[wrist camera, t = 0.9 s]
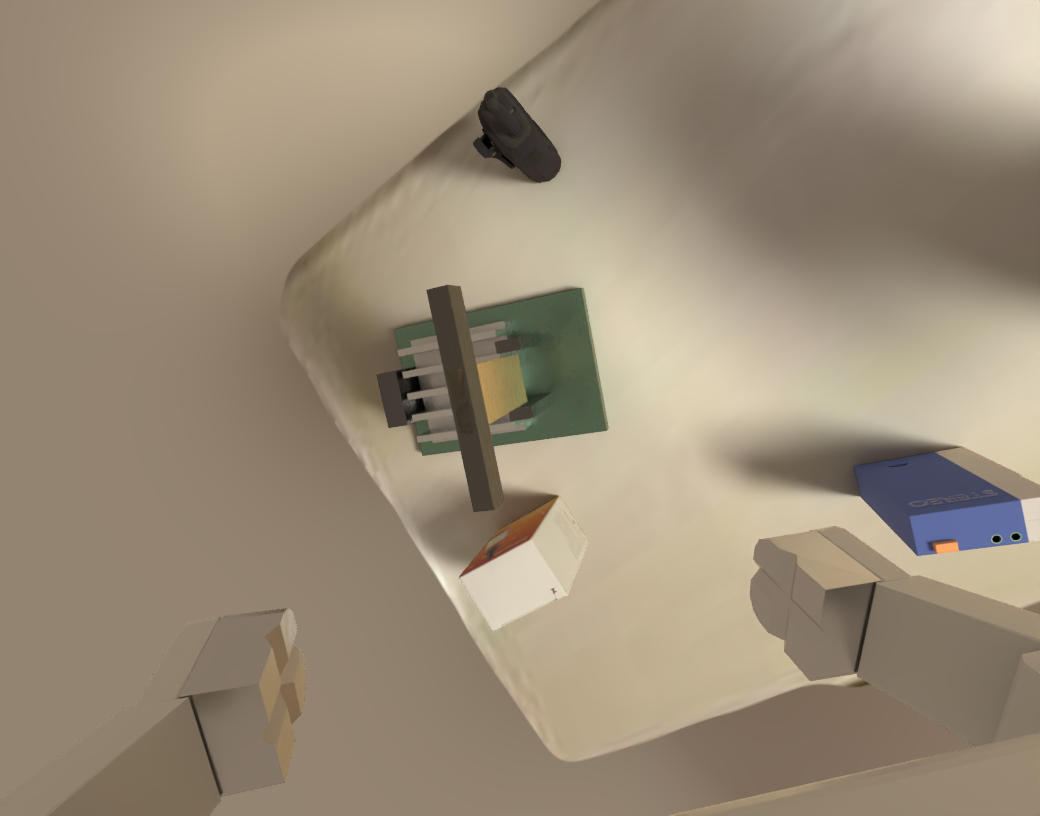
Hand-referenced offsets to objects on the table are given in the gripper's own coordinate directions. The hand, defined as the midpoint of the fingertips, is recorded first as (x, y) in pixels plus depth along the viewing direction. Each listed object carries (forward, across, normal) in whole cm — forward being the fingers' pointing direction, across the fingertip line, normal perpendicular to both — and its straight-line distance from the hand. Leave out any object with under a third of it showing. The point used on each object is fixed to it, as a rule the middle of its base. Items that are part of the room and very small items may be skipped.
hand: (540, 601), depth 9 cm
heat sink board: (+43, -5, +8) cm, 44 cm away
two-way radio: (+44, -9, -11) cm, 46 cm away
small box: (+38, -8, +24) cm, 46 cm away
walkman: (+26, -36, +14) cm, 47 cm away
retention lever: (+34, -5, +6) cm, 35 cm away
